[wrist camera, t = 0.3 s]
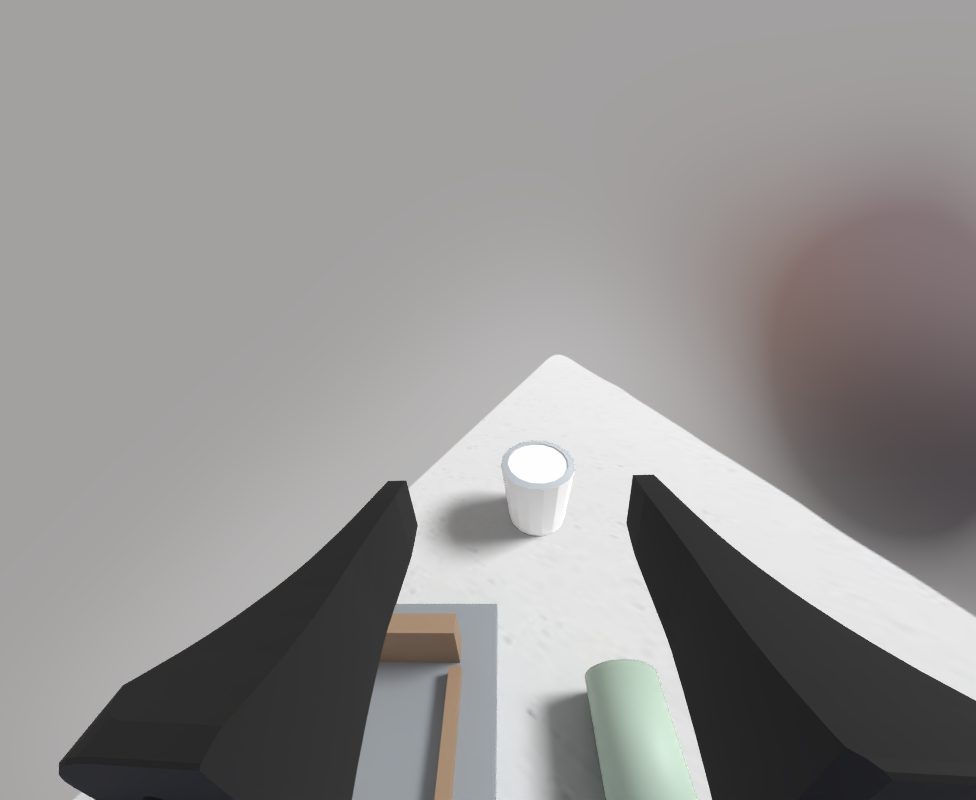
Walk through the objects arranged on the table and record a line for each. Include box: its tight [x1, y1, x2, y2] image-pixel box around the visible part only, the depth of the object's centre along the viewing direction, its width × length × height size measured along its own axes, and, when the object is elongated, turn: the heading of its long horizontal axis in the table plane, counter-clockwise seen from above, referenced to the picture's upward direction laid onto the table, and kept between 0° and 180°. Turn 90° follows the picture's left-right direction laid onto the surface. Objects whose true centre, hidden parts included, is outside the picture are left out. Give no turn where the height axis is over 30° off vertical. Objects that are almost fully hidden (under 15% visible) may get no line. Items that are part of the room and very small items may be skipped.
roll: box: [585, 659, 698, 800], centre depth 19 cm, size 8×4×4 cm, turn 178°
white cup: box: [501, 441, 575, 536], centre depth 35 cm, size 7×7×7 cm
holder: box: [352, 604, 497, 800], centre depth 20 cm, size 18×12×5 cm, turn 178°
